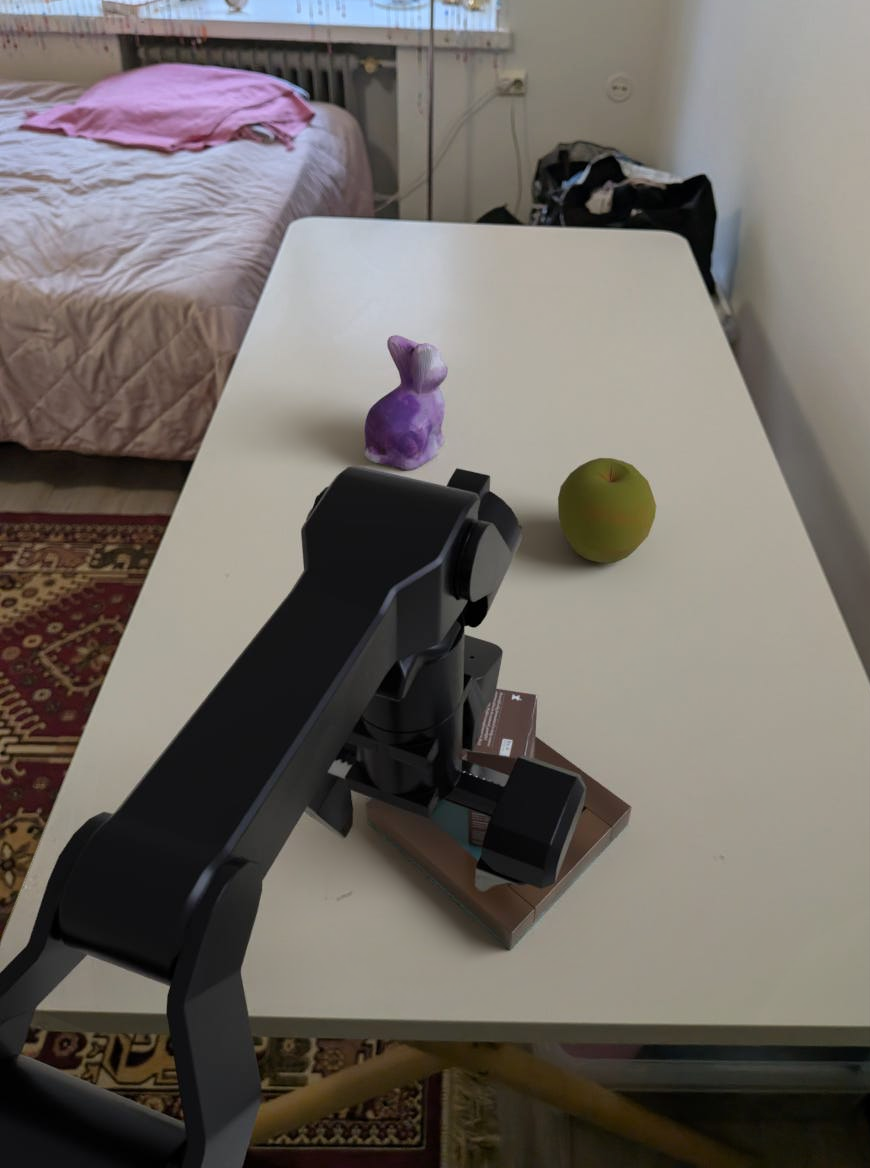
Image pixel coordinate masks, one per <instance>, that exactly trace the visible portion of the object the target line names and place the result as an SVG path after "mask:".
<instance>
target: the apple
mask: <svg viewBox="0 0 870 1168" xmlns="http://www.w3.org/2000/svg"><path fill="white" fill-rule="evenodd" d="M557 510H558V511H557V512H558V513H557V515H558V521H559V524H560V527H561V529H562V532H563V535H564V536H565V538H566V540H567V543H568V545H569V546H570V547H571V548H572V550H573V551H574V552H575V554H578V556H580V557H582V558H584V559H585V560H588V561H592V562H596V563H604V564H605V563H617V562H619V561H622V560H624V559H627V558H628V557H629V556H630V555H631V554H633V553H634V552H635V551H636V550H637V549H638V548H639V547H640V546H641V544H642V543H643V542H644V541H645V540H646V539H647V538H648V537H649V534H650V532H651V530H652V526H653V525H654V521H655V518H656V512H657V511H656V510H657V504H656V500H655V496H654V494H653V491H652V488H651V485H650V483H649V480H648V479H647V478H646V477H645V476H644V475H643V474H642V473H641V472H640V471H639V470H638V469H637V468H636V467H635V466H634V465H633V464H631V463H628V462H626V461H623V460H620V459H617V458H613V457H612V458H611V457H599V458H594V459H591V460H589V461H586V462H585V463H582V464H581V465H579V466H578V467H576V468H575V469H574V470H572V471H571V472H570V473H569V475H568V476H567V477H566V479H565V480H564V482H563V483H562V484H561V485H560V488H559V492H558V497H557Z"/></svg>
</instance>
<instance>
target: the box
mask: <svg viewBox="0 0 870 1168" xmlns="http://www.w3.org/2000/svg"><path fill="white" fill-rule="evenodd" d="M537 716H538V695H537V694H534V693H528V692H520V691H514V690H508V689H502V688H496V693H495V698H494V700H493V701H492V702H490V703H489V704H488V706H487V707H486V709H485V710H484V711H483V713H482V715H481V736H480V738H479V740H478V742H477V744H476V746H475V748H474V750H473V751H469V750H466V752H467V761H469V762H471V763H474V764H477V765H480V766H483V767H486V768H489V769H492V770H494V771H497V772H500V773H503V774H506V775H509V776H510V774H511V772H512V769H513V767H514V765H515V763H516V761H517V758H518V757H519V756H521V755H525V756H528V757H531V758H534V757H535V737H537V734H536V733H537ZM490 818H491V817H489V816H486V815H483V814H480V813H478V812H475V811H472V810H469V809H468V835H469V844H471V845H475V846H480V847H482V843H483V840H484V837H485V833H486V830H487V826H488V823H489V820H490Z"/></svg>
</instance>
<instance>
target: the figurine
mask: <svg viewBox="0 0 870 1168" xmlns="http://www.w3.org/2000/svg"><path fill="white" fill-rule="evenodd" d="M386 346H387V349H388V352H389V355H390V357H391V359H392V361H393V363H394V365H395V367H396V369H397V371H398V374H399V379H400V384H399V385H398V386H397V387H396V388H394V389H393V390H391V391H390V392H388V393H387V394H385V395H384V396H382V397H381V398H380V399H379V400H377V401H376V402H375V403H374V404H373V405H372V406H371V407H370V408H369V410H368V412H367V413H366V414H367V415H366V417H365V422H364V443H365V444H364V456H365V457H366V459H368V460H370V461H371V462H373V463H375V464H382V465H386V466H391V467H393V468H398V469H401V470H405V471H410V470H416V469H418V468H420V467H422V466H423V465H425V464H426V463H428V462H430V461H431V460H433V459H434V458H435V457H436V456H437V455H438V452H439V449H440V447H442V445H443V444H444V443H445V436H444V434H443V431H442V428H443V422H444V418H445V409H446V403H445V402H446V401H445V398H444V395H443V392H442V390H441V387H440V386H441V385H442V383H443V382H444V381H445V380H446V378H447V377H448V371H449V368H448V365H447V363H445V361H443V357H442V352H441V350H440V349H439V348H438V347H436V346H435V345H433V344H430V343H426V342H425V343H419V342H416V341H413V340H411V339H409V338H407V337H405V336H401V335H398V334H395V335H390V336H389V337H388V339H387V342H386Z"/></svg>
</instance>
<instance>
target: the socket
mask: <svg viewBox="0 0 870 1168" xmlns="http://www.w3.org/2000/svg"><path fill="white" fill-rule="evenodd" d="M462 759H463V760H466V761H467V752H466V749H464V751H463V753H462ZM534 759H537V760H540V761H543V762H546V763H548V764H551V765H554V766H557V767H560V768H563V769H566V770H569V771H572V772H575V773H578V774H580V775H581V777H582V779H583V782H584V784H585V786H586V795H585V801H584V806H583V809H582V811H581V814H580V817H579V820H578V822H577V825H576V828H575V830H574V833H573V836H572V838H571V841H570V844H569V847H568V849H567V852H566V855H565V857H564V860H563V863H562V865H561V868H560V871H559V874H558V876H557V879H556V882H555V884H552V885H550V886H547V887H545V888H542V889H540V888H537V887H535V886H532V885H529V884H527V885H525V886H518V885H515V884H512V883H504V884H499V885H495V886H493V887H491V888H489V889H488V890H486V891H485V892H481V891H478V890H477V888H476V886H475V873H476V865H477V863H478V861H479V858H480V856H481V849H482V847H480V846H475V845H471V844H469V835H468V809H467V808H464V807H461V806H458V805H456V804H453V803H450V802H447V801H445V800H442V801H440V802H437V804H436V805H435V807H434V809H433V811H432V813H431V815H430V817H429V819H427V818H425V817H422V816H419V815H416V814H414V813H411V812H408V811H406V810H403V809H400V808H398V807H395V806H392V805H389V804H387V803H384V802H381V801H379V800H376V799H373V798H371V799H369V800H368V801H367V802H366V803H365V811H366V812H365V813H366V823H368V824H370V826H371V827H372V828H373V829H375V830H376V831H377V833H379V834H380V835H381V836H383V838H384V839H386V841H388V842H389V843H390V844H391V845H393V847H395V848H396V849H397V850H398V851H399V852H400V853H401V854H402V855H403V856H405V857H406V858H407V859H408V860H409V861H410V862H411V863H413V864H414V865H415V866H416V867H417V868H418V869H419V870H420V871H421V872H422V873H424V874H425V875H426V876H427V877H428V878H429V879H430V880H431V881H432V882H434V883H435V884H436V885H437V886H438V887H439V888H440V889H441V890H442V891H443V892H445V893H446V894H447V895H448V896H449V897H450V898H451V899H453V901H455V902H456V903H457V904H458V905H459V906H460V907H461V908H463V909H464V910H465V911H466V913H468V914H469V915H470V916H471V917H472V918H474V920H475V921H476V922H478V923H479V924H480V925H481V926H482V927H483V928H484V929H486V930H487V931H488V932H489V933H490V934H491V935H492V936H493V937H494V938H495V939H497V940H498V941H499V942H500V943H501V944H502V945H503V946H504V947H505V948H507V950H509V951H511V950H513V949H514V948H515V946H516V945H517V944H518V943H519V942H520V941H521V940H522V939H523V938H524V937H525V936H526V934H528V933H529V931H530V930H531V929H532V928H534V926H535V925H536V924H537V923H538V922H539V921H540V920H541V919H542V918H543V916H544V915H545V914H547V912H548V911H549V910H550V909H551V908H552V907H553V905H554V904H555V903H556V902H557V901H558V900H559V899H560V898H561V897H562V896H563V895H564V894H565V893H566V891H568V890H569V888H570V887H571V886H573V885H574V883H575V882H576V881H577V880H578V879H579V878H580V877H581V876H582V874H584V873H585V871H586V870H587V869H588V868H589V867H590V866H591V865H592V864H593V863H594V862H595V860H597V859H598V858H599V857H600V855H601V854H602V853H604V851H605V850H606V849H607V848H608V847H609V846H610V845H611V844H612V843H613V841H615V839H616V838H617V837H618V836H619V835H620V834H621V833H622V832H623V831H624V830H625V829H626V827H627V826H628V825H629V821H630V817H631V812H632V806H631V805H630V804H628V803H627V802H626V801H624V800H623V798H620V797H619V796H617V795H616V794H615V793H614V792H612V791H611V790H609V788H607V787H605V786H604V785H603V784H601V783H600V782H599V781H597V780H596V779H595V778H593V777H592V776H590V775H589V774H587V772H585V771H584V770H582V769H581V768H580V767H579V766H577V765H576V764H574V762H573V763H572V762H571V761H570V760H569V759H567V758H566V757H564V756H563V755H562V754H560V753H559V752H558V751H557V750H556V749H554V748H553V747H551V746H550V745H549V744H547V743H546V742H544V741H543V740H541V739H540V738H539V737H538V736H536V737H535V757H534Z"/></svg>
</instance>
